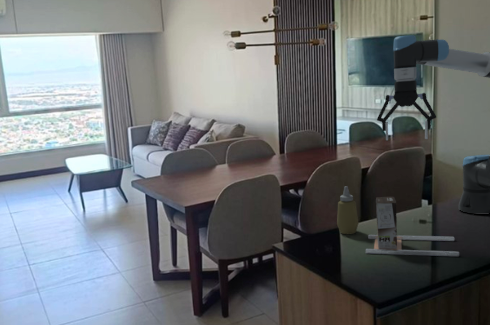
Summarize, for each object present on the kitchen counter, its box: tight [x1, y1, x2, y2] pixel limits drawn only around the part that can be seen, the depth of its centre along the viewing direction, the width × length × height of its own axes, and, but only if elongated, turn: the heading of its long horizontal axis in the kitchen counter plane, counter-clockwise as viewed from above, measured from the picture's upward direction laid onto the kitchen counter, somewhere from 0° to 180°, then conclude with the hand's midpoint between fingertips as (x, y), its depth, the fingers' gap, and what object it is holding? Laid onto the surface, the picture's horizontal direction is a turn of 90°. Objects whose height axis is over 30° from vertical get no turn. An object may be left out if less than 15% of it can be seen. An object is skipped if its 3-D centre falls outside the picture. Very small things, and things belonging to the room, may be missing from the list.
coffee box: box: [375, 196, 398, 249], centre depth 172 cm, size 9×6×16 cm
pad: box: [373, 239, 402, 250], centre depth 173 cm, size 9×11×1 cm
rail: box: [365, 234, 460, 257], centre depth 171 cm, size 29×16×1 cm, turn 73°
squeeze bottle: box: [336, 185, 359, 235], centre depth 189 cm, size 8×8×18 cm
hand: (406, 139), depth 181 cm, fingers open, 13 cm apart
